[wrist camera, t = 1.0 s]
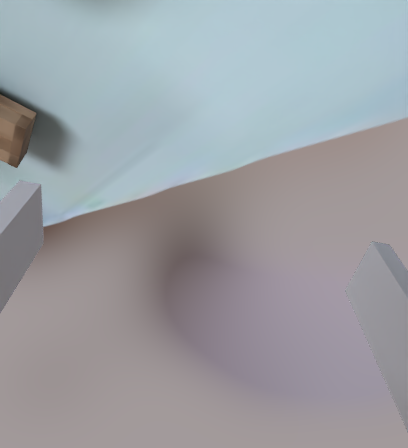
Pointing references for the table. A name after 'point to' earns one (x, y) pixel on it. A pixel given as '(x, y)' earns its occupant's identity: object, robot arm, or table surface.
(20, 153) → the beam
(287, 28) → the table surface
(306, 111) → the table surface
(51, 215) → the table surface
